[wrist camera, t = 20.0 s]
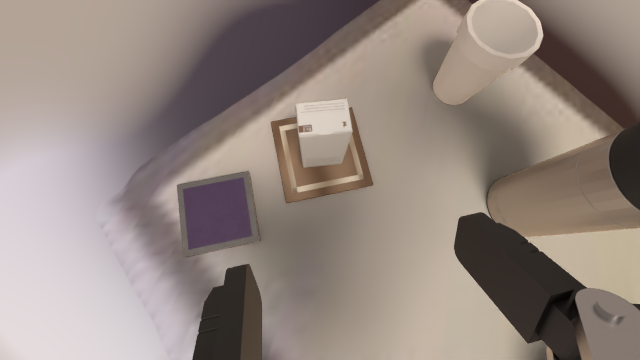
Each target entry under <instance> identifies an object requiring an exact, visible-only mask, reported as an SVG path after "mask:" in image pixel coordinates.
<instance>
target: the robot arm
mask: <svg viewBox="0 0 640 360" xmlns="http://www.w3.org/2000/svg"><path fill="white" fill-rule="evenodd" d="M487 203H488V209H489V212H490V214H491V216H492V218H493V220H494V221H495V222H496V223H495V222H494V221H493V220H492V219H491V218H489V217H488V216H487V215H486V214H484V213H482V212H479V213H475V214H471V215H466V216H462V217H460V218H459V221H458V226H457V232H456V238H455V244H454V250H455V254H456V256H457V258H458V260H459V262H460V263H461V264H462V265H463V266H464V268H465V269H466V270H467V271H468V272H469V274H470V275H471V276H472V277H473V278H474V280H475V281H476V282H477V283H478V284H479V286H480V287H481V288H482V289H483V290H484V292H485V293H486V294H487V295H488V296H489V298H490V299H491V300H492V301H493V302H494V304H495V305H496V306H497V307H498V308H499V309H500V311H501V312H502V313H503V314H504V315H505V317H506V318H507V319H508V320H509V321H510V323H511V324H512V325H513V326H514V327H515V329H516V330H517V331H518V332H519V333H520V335H521V336H522V337H523V338H524V339H525V341H526V342H527V343H532V342H535V341H539V340H543V341H544V342H545V343H546V345H547V346H548V347H547V350H546V355H547V360H640V304H631V303H630V302H628V301H627V300H625V299H623V298H621V297H620V296H618V295H615V294H613V293H610V292H608V291H604V290H601V289H594V288H586V287H585V286H584V285H582V284H581V283H580V282H579V281H577V280H576V279H575V278H574V277H572V276H571V275H570V274H569V273H568V272H566V271H565V270H564V269H563V268H561V267H560V266H559V265H558V264H556V263H555V262H554V261H553V260H551V259H550V258H549V257H548V256H546V255H545V254H544V253H543V252H542V251H541V252H540V251H539V250H538V248H537V247H535V246H534V245H533V244H532V243H529V242H528V240H527V239H525V238H524V237H532V236H544V235H558V234H571V233H583V232H595V231H608V230H620V229H632V228H640V123H639V124H636V125H633V126H631V127H629V128H626V129H623V130H621V131H618V132H616V133H613V134H611V135H608V136H606V137H603V138H601V139H598V140H596V141H593V142H591V143H589V144H586V145H584V146H581V147H579V148H576V149H573V150H571V151H568V152H566V153H563V154H561V155H558V156H556V157H553V158H551V159H548V160H546V161H543V162H541V163H538V164H536V165H533V166H531V167H528V168H526V169H523V170H520V171H518V172H515V173H513V174H510V175H508V176H505V177H503V178H501V179H498V180H497V181H496V182H495V183H494V184H493V185H492V186H491V188H490V190H489V192H488V198H487ZM201 319H202V320H201V321H200V326H199V334H198V336H197V340H196V345H195V350H194V354H193V359H192V360H262V302H261V296H260V291H259V289H258V286H257V283H256V280H255V278H254V275H253V272H252V269H251V267H250V265H249V264H246V265H241V266H237V267H232V268H228V269H227V270H226V274H225V281H224V285H223V286H219V287H214V288H213V289H212V291H211V293H210V294H209V296H208V297H207V299H206V301H205V302H204V307H203V312H202V317H201Z"/></svg>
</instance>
